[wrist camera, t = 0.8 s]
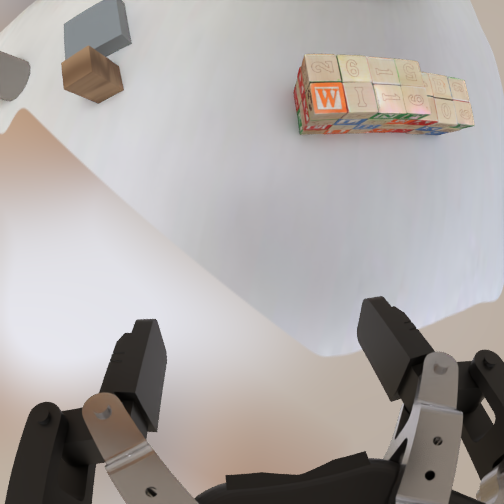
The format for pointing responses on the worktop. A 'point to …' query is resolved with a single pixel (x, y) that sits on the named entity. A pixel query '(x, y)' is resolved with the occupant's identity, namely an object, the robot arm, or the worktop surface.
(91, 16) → the slate block
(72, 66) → the walnut block
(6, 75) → the cup
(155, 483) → the robot arm
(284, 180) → the worktop surface
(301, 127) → the stack of blocks
